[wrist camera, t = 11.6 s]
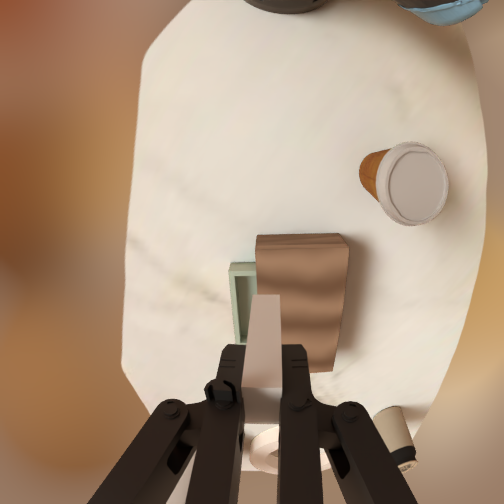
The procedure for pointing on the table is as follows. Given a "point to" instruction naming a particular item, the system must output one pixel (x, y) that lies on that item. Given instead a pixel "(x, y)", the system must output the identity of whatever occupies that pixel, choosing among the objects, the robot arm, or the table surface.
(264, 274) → the walnut overhang
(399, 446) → the travel mug
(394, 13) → the table surface
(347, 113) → the table surface
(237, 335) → the green tray
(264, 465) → the ring with crossbar
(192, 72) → the table surface
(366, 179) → the disposable coffee cup
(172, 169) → the table surface
